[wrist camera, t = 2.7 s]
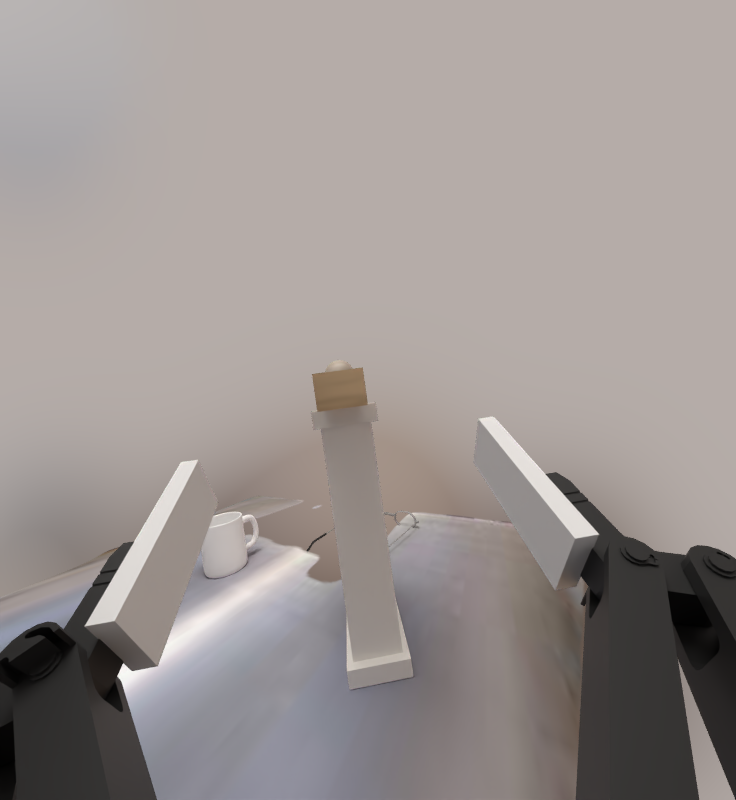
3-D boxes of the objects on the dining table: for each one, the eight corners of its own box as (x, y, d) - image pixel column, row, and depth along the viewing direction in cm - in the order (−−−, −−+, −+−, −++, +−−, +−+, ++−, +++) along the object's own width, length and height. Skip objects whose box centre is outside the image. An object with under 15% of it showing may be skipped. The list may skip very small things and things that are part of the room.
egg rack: (331, 407, 48) (326, 370, 48) (357, 404, 49) (351, 367, 49) (317, 411, 24) (307, 338, 24) (367, 405, 25) (357, 332, 25)
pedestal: (348, 601, 48) (321, 408, 48) (392, 593, 49) (366, 402, 49) (349, 689, 33) (310, 411, 33) (413, 676, 34) (375, 402, 34)
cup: (197, 572, 64) (190, 524, 64) (251, 546, 73) (245, 504, 73) (215, 584, 59) (208, 530, 59) (271, 554, 68) (264, 508, 68)
